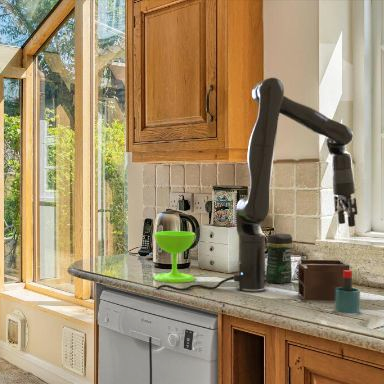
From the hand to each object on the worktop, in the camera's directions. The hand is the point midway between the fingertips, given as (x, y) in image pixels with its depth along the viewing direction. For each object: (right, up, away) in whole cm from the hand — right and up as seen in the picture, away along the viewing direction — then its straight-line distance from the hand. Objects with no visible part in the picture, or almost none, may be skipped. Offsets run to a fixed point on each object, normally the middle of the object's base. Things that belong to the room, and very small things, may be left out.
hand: (346, 225), depth 217 cm
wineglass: (-62, -22, +15) cm, 68 cm away
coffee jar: (-23, -22, +9) cm, 33 cm away
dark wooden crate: (-16, -23, -21) cm, 35 cm away
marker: (-15, -23, -40) cm, 49 cm away
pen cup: (-15, -24, -40) cm, 49 cm away
